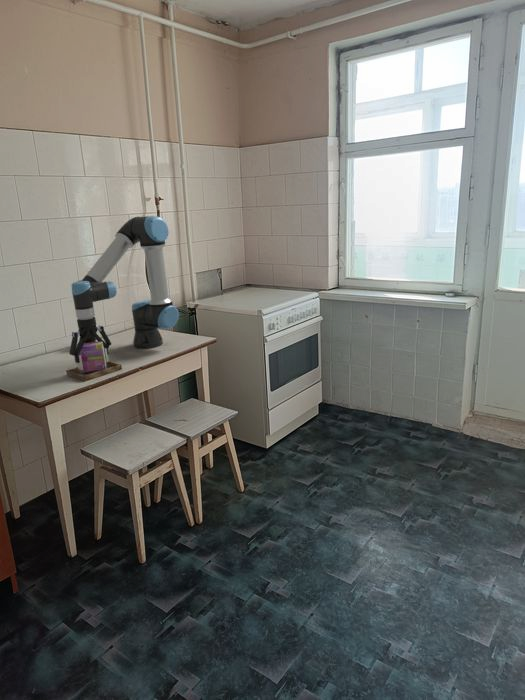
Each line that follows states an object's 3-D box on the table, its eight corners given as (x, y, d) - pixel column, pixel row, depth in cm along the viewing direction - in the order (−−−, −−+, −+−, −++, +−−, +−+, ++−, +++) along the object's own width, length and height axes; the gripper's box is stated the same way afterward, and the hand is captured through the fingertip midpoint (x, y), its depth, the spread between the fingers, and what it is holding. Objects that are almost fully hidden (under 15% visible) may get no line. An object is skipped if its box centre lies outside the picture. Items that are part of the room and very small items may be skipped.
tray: (104, 363, 232) (103, 359, 231) (122, 369, 222) (121, 364, 222) (67, 375, 219) (66, 370, 218) (83, 381, 209) (83, 376, 209)
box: (81, 372, 216) (77, 346, 213) (82, 368, 222) (78, 343, 218) (106, 369, 219) (102, 343, 215) (106, 365, 224) (102, 340, 221)
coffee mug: (94, 349, 257) (91, 330, 254) (78, 350, 257) (75, 331, 254) (102, 343, 268) (99, 325, 265) (86, 343, 268) (83, 325, 265)
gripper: (105, 311, 224) (112, 356, 230) (55, 322, 207) (64, 371, 214) (115, 313, 219) (121, 359, 226) (63, 324, 202) (72, 374, 209)
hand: (93, 365), depth 220 cm, fingers closed on box, 12 cm apart
